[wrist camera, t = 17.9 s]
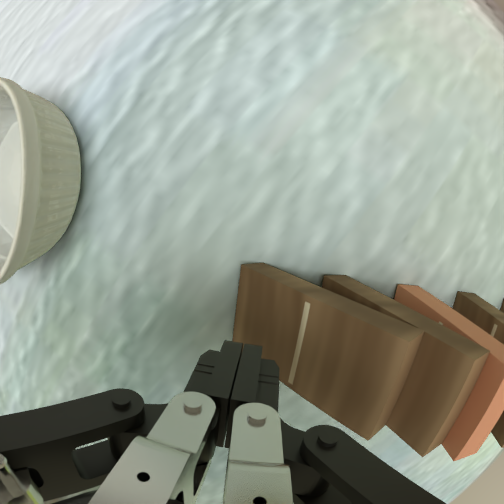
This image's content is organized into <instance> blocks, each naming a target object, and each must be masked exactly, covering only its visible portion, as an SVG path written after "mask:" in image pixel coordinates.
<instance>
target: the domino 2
mask: <svg viewBox="0 0 504 504" xmlns="http://www.w3.org/2000/svg"><path fill="white" fill-rule="evenodd" d="M322 288H324V289H327V290H329V291H331V292H334V293H336V294H338V295H341V296H343V297H345V298H348V299H350V300H353V301H355V302H357V303H360V304H362V305H364V306H367V307H369V308H372V309H374V310H376V311H379V312H381V313H383V314H386V315H388V316H391V317H393V318H395V319H398V320H400V321H402V322H405V323H407V324H410V325H412V326H414V327H417V328H419V329H422V330H424V334H423V337H422V340H421V343H420V346H419V349H418V351H417V354H416V357H415V359H414V362H413V365H412V367H411V370H410V372H409V375H408V377H407V379H406V382H405V384H404V387H403V389H402V391H401V394H400V396H399V398H398V400H397V402H396V405H395V407H394V409H393V411H392V413H391V415H390V417H389V419H388V421H387V423H386V425H387V426H388V427H389V428H390V429H391V430H392V431H393V432H394V433H396V434H397V435H398V436H399V437H400V438H401V439H402V440H404V441H405V442H406V443H407V444H408V445H409V446H410V447H412V448H413V449H414V450H415V451H416V452H417V453H418V454H420V455H421V456H422V457H423V456H425V455H426V454H428V453H429V452H431V451H432V450H433V449H435V448H436V447H438V446H439V445H440V444H442V443H443V441H444V439H445V438H446V436H447V435H448V433H449V431H450V430H451V428H452V426H453V425H454V423H455V421H456V420H457V418H458V416H459V414H460V413H461V411H462V409H463V407H464V405H465V403H466V402H467V400H468V398H469V396H470V394H471V392H472V390H473V388H474V386H475V384H476V382H477V380H478V378H479V375H480V373H481V371H482V369H483V367H484V364H485V362H486V360H487V358H488V355H489V353H490V350H488V349H486V348H484V347H482V346H480V345H479V344H477V343H475V342H473V341H471V340H469V339H467V338H466V337H464V336H462V335H460V334H458V333H456V332H454V331H452V330H451V329H449V328H447V327H445V326H443V325H441V324H439V323H437V322H435V321H434V320H432V319H430V318H428V317H426V316H424V315H422V314H420V313H418V312H416V311H414V310H413V309H411V308H409V307H407V306H405V305H403V304H401V303H399V302H397V301H395V300H393V299H391V298H389V297H387V296H386V295H384V294H382V293H380V292H378V291H376V290H374V289H372V288H370V287H368V286H366V285H364V284H362V283H360V282H358V281H356V280H354V279H352V278H350V277H348V276H346V275H324V278H323V283H322Z"/></svg>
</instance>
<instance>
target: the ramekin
mask: <svg viewBox="0 0 504 504" xmlns="http://www.w3.org/2000/svg"><path fill="white" fill-rule="evenodd" d="M80 182H81V161H80V152H79V146H78V142H77V138H76V135H75V133H74V130H73V127H72V126H71V124H70V122H69V120H68V119H67V118H66V116H65V114H64V113H63V112H62V111H60V110H59V108H58V107H57V106H55V105H54V104H52V103H51V102H49V101H47V100H45V99H44V98H42V97H40V96H38V95H35V94H33V93H31V92H29V91H27V90H24V89H22V87H21V86H19V85H18V84H17V83H15V82H14V81H12V80H9V79H6V78H1V77H0V284H2V283H4V282H5V281H7V280H8V279H9V278H11V277H12V276H13V275H14V273H15V272H16V271H17V270H18V269H20V268H22V267H24V266H25V265H27V264H29V263H30V262H32V261H34V260H35V259H37V258H39V257H40V256H42V255H43V254H45V253H46V252H47V251H49V249H51V248H52V247H53V246H54V245H55V244H56V243H57V241H59V240H60V239H61V237H62V235H63V233H64V232H65V231H66V230H67V227H68V225H69V223H70V222H71V220H72V216H73V214H74V212H75V208H76V204H77V201H78V196H79V191H80Z"/></svg>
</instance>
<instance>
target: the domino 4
mask: <svg viewBox="0 0 504 504" xmlns="http://www.w3.org/2000/svg"><path fill="white" fill-rule="evenodd" d="M453 309H454V310H455V311H457V312H458V313H460V314H461V315H462V316H464V317H465V318H467V319H468V320H470V321H471V322H473V323H474V324H475V325H477V326H478V327H480V328H481V329H483V330H484V331H485V332H487V333H488V334H490V335H491V336H492V337H494V338H495V339H497V340H498V341H499V342H501V343H502V344H503V345H504V313H503V312H501V311H500V310H498V309H497V308H495V307H494V306H492V305H491V304H489V303H488V302H486V301H485V300H483V299H482V298H480V297H479V296H477V295H476V294H474V293H467V292H460V291H458V292H457V296H456V299H455V302H454V305H453ZM491 433H492V434H493V436H494V437H495V439H496V440H497V442H498V443H499V445H500V446H501V448H502V447H504V411H503V413H502V414H501V416H500V418H499V419H498V421H497V423H496V424H495V426H494V427H493V429H492V430H491Z"/></svg>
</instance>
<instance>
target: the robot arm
mask: <svg viewBox="0 0 504 504" xmlns="http://www.w3.org/2000/svg"><path fill="white" fill-rule="evenodd" d="M262 348H263V346H259V345H252V344H245V343H244V347H243V343H239V342H233V341H227V340H225V341H224V343H223V346H222V348H221V351H220V352H219V351H213V350H208V351H207V352H205V353H204V354H202V355H201V356H200V358H199V360H198V363H197V365H196V367H195V369H194V371H193V373H192V375H191V377H190V380H189V382H188V384H187V386H186V388H185V390H184V392H183V393H180V394H177V395H175V396H174V397H173V398H172V399H171V401H170V402H169V403H168V404H144V401H143V398H142V397H141V396H140V395H139V394H138V393H136V392H134V391H132V390H129V389H113V390H109V391H106V392H102V393H99V394H95V395H91V396H87V397H84V398H80V399H76V400H72V401H68V402H64V403H60V404H56V405H52V406H47V407H43V408H38V409H34V410H29V411H24V412H19V413H14V414H9V415H4V416H0V504H195V503H196V500H197V497H198V495H199V492H200V490H201V487H202V485H203V482H204V480H205V477H206V474H207V472H208V469H209V467H210V464H211V459H212V457H213V455H214V451H215V447H216V446H219V447H223V444H224V440H225V436H226V441H225V448H229V453H228V460H227V467H226V476H225V486H224V495H223V504H293V503H294V504H446V503H445V502H443V501H441V500H440V499H438V498H437V497H435V496H433V495H432V494H430V493H429V492H427V491H426V490H424V489H423V488H421V487H420V486H418V485H417V484H415V483H414V482H412V481H411V480H409V479H408V478H406V477H405V476H403V475H402V474H400V473H399V472H398V471H396V470H395V469H393V468H392V467H390V466H389V465H388V464H386V463H385V462H383V461H382V460H381V459H379V458H378V457H377V456H375V455H374V454H372V453H371V452H370V451H368V450H367V449H366V448H364V447H363V446H362V445H360V444H359V443H358V442H356V441H355V440H354V439H352V438H351V437H350V436H349V435H347V434H346V433H345V432H343V431H342V430H340V429H338V428H336V427H333V426H329V425H318V426H314V427H312V428H310V429H308V430H307V431H306V432H304V431H301V430H298V429H295V428H293V427H291V426H289V425H287V424H286V423H285V422H283V421H282V419H281V418H280V416H279V414H278V397H279V367H278V365H277V364H276V362H275V360H269V359H262V358H261V356H262ZM242 349H243V351H242ZM226 431H227V433H226ZM104 438H108V440H106V441H103V442H100V443H97V444H94V445H90V446H87V447H84V448H80V449H77V450H74V449H75V448H76V447H79V446H82V445H85V444H89V443H92V442H95V441H98V440H101V439H104Z"/></svg>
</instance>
